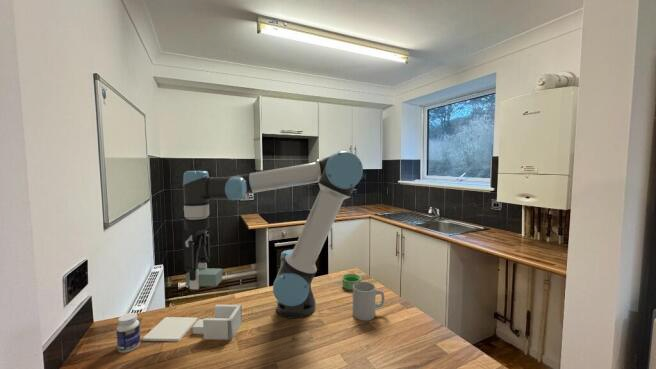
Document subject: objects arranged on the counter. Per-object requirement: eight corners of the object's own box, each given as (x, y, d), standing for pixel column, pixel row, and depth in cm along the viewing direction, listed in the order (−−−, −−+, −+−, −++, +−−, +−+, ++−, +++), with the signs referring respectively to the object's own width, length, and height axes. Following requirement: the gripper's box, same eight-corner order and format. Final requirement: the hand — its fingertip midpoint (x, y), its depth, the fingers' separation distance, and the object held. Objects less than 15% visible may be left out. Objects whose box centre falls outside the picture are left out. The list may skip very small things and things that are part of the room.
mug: (354, 321, 97) (354, 292, 96) (351, 308, 106) (351, 281, 105) (387, 320, 98) (387, 291, 97) (381, 307, 106) (381, 280, 105)
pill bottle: (128, 354, 80) (126, 323, 80) (112, 352, 81) (110, 320, 81) (145, 342, 86) (143, 312, 85) (130, 339, 87) (128, 310, 86)
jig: (241, 322, 97) (241, 304, 96) (231, 339, 87) (231, 320, 87) (203, 321, 97) (202, 304, 96) (188, 338, 87) (187, 319, 87)
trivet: (198, 319, 98) (197, 317, 98) (179, 341, 86) (178, 338, 86) (165, 319, 99) (165, 317, 98) (142, 340, 87) (142, 338, 87)
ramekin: (340, 290, 121) (340, 280, 121) (342, 281, 130) (342, 272, 130) (360, 291, 120) (360, 282, 119) (361, 283, 128) (361, 274, 128)
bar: (222, 279, 93) (222, 268, 93) (215, 286, 88) (215, 274, 88) (193, 279, 93) (193, 268, 93) (185, 285, 88) (185, 274, 88)
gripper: (199, 212, 98) (201, 273, 100) (169, 222, 80) (171, 297, 82) (219, 212, 98) (220, 274, 100) (193, 223, 80) (196, 298, 82)
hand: (198, 284), depth 91 cm, fingers closed on bar, 5 cm apart
